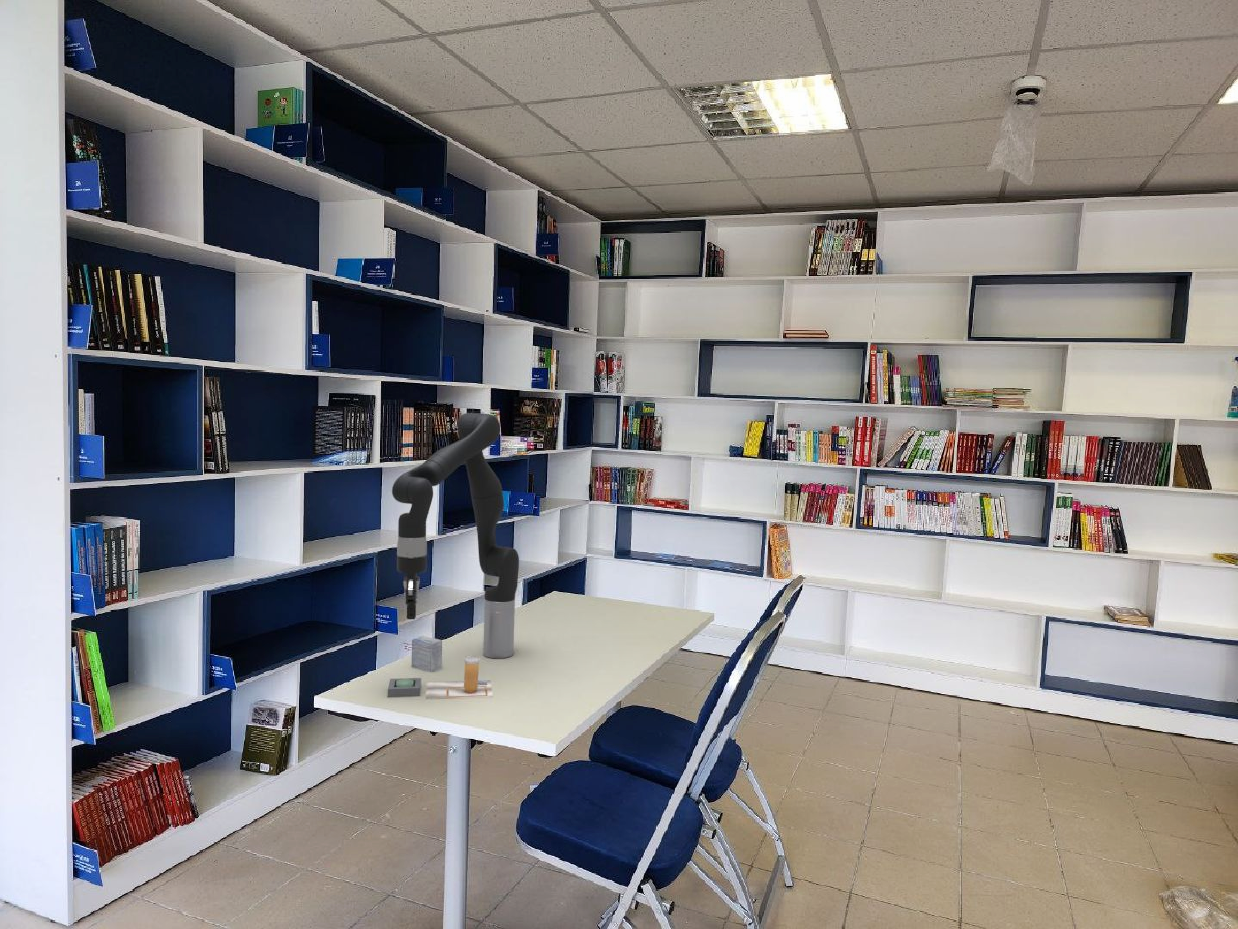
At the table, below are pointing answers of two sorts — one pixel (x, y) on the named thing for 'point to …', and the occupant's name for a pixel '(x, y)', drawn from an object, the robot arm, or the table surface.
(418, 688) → the button housing
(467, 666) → the orange pill bottle
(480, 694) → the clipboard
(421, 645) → the medicine box
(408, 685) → the button
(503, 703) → the table surface
